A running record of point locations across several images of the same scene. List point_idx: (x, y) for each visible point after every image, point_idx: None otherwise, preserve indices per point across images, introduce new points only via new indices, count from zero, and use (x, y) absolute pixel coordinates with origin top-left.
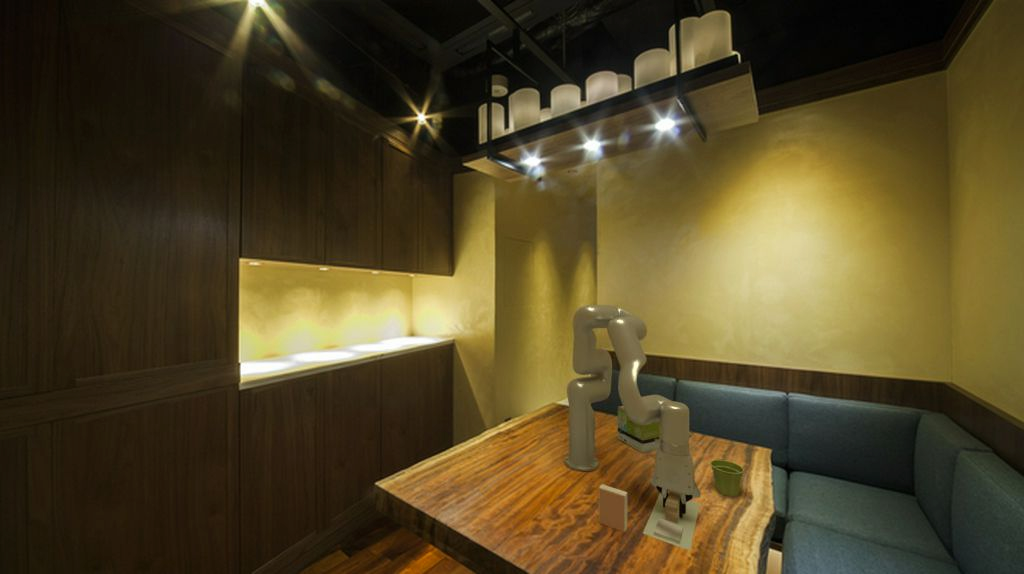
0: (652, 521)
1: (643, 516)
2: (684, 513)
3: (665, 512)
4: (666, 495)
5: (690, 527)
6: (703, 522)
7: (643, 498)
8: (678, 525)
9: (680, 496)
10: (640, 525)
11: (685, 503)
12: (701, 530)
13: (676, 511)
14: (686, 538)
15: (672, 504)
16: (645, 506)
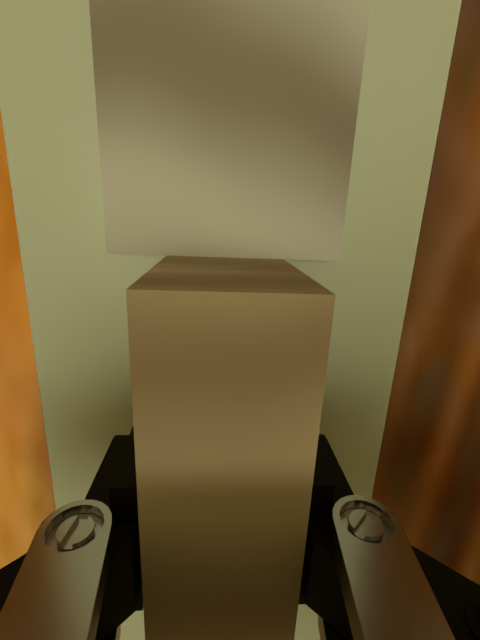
0: (387, 208)
1: (449, 289)
2: (121, 436)
3: (295, 271)
4: (328, 545)
5: (65, 314)
6: (17, 470)
7: (449, 519)
8: (150, 234)
9: (146, 622)
10: (474, 130)
11: (55, 511)
12: (2, 360)
13: (149, 274)
14: (55, 95)
15: (216, 354)
16: (434, 432)
